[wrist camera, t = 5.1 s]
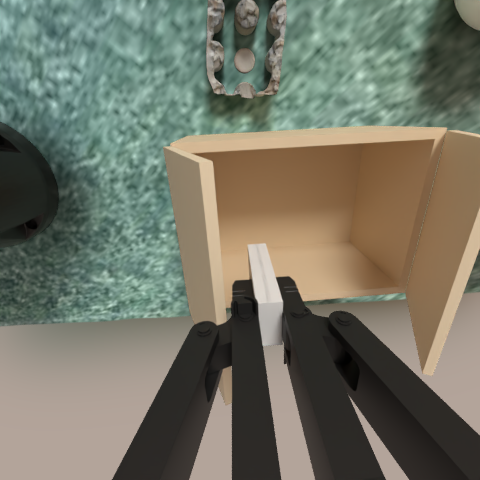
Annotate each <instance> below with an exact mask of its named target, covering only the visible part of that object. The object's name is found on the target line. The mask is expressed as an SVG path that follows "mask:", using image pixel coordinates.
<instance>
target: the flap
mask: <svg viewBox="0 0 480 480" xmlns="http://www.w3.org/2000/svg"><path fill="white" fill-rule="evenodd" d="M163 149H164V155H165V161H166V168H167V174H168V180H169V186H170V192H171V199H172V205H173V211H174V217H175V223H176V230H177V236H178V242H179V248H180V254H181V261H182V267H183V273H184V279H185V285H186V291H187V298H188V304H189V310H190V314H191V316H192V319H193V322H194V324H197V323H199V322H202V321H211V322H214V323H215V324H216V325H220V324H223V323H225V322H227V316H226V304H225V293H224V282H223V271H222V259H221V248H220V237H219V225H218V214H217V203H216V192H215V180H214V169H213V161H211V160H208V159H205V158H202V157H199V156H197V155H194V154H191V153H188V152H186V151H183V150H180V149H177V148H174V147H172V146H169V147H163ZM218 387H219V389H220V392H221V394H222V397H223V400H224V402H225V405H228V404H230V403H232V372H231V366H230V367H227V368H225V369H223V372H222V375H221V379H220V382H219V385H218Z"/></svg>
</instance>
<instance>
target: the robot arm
mask: <svg viewBox="0 0 480 480" xmlns="http://www.w3.org/2000/svg"><path fill="white" fill-rule="evenodd" d="M57 207H58V188H57V184H56V181H55V178H54V175H53V173H52V170H51V169H50V167H49V165H48V163H47V162H46V160H45V159H44V157H43V156H42V154H41V153H40V152H39V151H38V150H37V149H36V147H35V146H34V145H33V144H32V143H31V142H30V141H28V140H27V139H26V138H25V137H24V136H23V135H21V134H20V133H19V132H17V131H16V130H14V129H13V128H11V127H9V126H7V125H6V124H4V123H2V122H0V248H3V247H9V246H14V245H17V244H20V243H23V242H25V241H27V240H29V239H31V238H33V237H34V236H36V235H37V234H39V233H41V232H42V231H43V230H45V229H46V228H47V227H48V226H49V225H50V223H51V222H52V220H53V219H54V217H55V214H56V211H57ZM248 264H249V280H235V282H234V283H233V285H232V302H231V314H232V316H231V318H230V319H229V320H228V321H227V322H225V323H223V324H220V325H216V324H215V323H214V322H211V321H202V322H199V323H197V324H195V325H194V326H193V327H192V328H191V330H190V332H189V334H188V336H187V338H186V340H185V341H184V343H183V345H182V347H181V349H180V351H179V353H178V355H177V357H176V359H175V360H174V362H173V364H172V366H171V368H170V370H169V372H168V374H167V376H166V378H165V380H164V381H163V383H162V385H161V387H160V389H159V391H158V393H157V395H156V397H155V399H154V401H153V403H152V405H151V407H150V408H149V410H148V412H147V414H146V416H145V418H144V420H143V422H142V423H141V425H140V427H139V429H138V431H137V433H136V435H135V437H134V439H133V441H132V443H131V445H130V447H129V448H128V450H127V452H126V454H125V456H124V458H123V460H122V462H121V464H120V466H119V467H118V469H117V471H116V473H115V475H114V477H113V479H112V480H189V478H190V475H191V471H192V469H193V465H194V462H195V459H196V456H197V452H198V449H199V446H200V443H201V440H202V436H203V433H204V430H205V427H206V424H207V420H208V417H209V414H210V410H211V407H212V404H213V401H214V398H215V395H216V391H217V388H218V385H219V382H220V379H221V375H222V372H223V369H225V368H227V367H230V366H232V480H281V475H280V467H279V461H278V453H277V446H276V438H275V431H274V424H273V417H272V410H271V402H270V395H269V388H268V380H267V374H266V366H265V359H264V352H263V346H270V345H282V341H283V342H284V364H286V363H287V366H288V370H289V375H290V379H291V383H292V387H293V391H294V395H295V399H296V403H297V407H298V411H299V415H300V419H301V423H302V427H303V431H304V436H305V439H306V444H307V448H308V451H309V455H310V460H311V464H312V468H313V472H314V476H315V480H386V479H385V477H384V475H383V472H382V471H381V468H380V466H379V463H378V461H377V459H376V457H375V454H374V452H373V450H372V448H371V445H370V443H369V441H368V439H367V436H366V434H365V432H364V430H363V427H362V425H361V423H360V421H359V418H358V416H357V414H356V412H355V409H354V407H353V405H352V402H351V400H350V398H349V396H350V397H351V399H352V400H353V402H354V403H355V404H356V406H357V407H358V408H359V410H360V411H361V413H362V414H363V415H364V417H365V418H366V420H367V421H368V422H369V424H370V425H371V427H372V428H373V429H374V431H375V432H376V434H377V435H378V436H379V438H380V439H381V441H382V442H383V443H384V445H385V446H386V448H387V449H388V450H389V452H390V453H391V455H392V456H393V457H394V459H395V460H396V462H397V463H398V464H399V466H400V467H401V469H402V470H403V471H404V473H405V474H406V476H407V477H408V478H409V480H480V435H478V433H477V432H475V431H474V430H473V429H472V428H471V427H470V426H469V425H468V424H467V423H466V422H465V421H464V420H463V419H462V418H461V417H459V415H457V413H456V412H454V411H453V410H452V409H451V408H450V407H449V406H448V405H447V404H446V403H445V402H444V401H443V400H442V399H441V398H440V397H439V396H438V395H437V394H436V393H435V392H434V391H433V390H431V388H429V387H428V386H427V385H426V384H425V383H424V382H423V381H422V380H421V379H420V378H419V377H418V376H417V375H416V374H415V373H414V372H413V371H412V370H411V369H409V367H408V366H407V365H405V364H404V363H403V362H402V361H401V360H400V359H399V358H398V357H397V356H396V355H395V354H394V353H393V352H392V351H391V350H390V349H389V348H388V347H387V346H386V345H384V344H383V342H381V341H380V340H379V339H378V338H377V337H376V336H375V335H374V334H373V333H372V332H371V331H370V330H369V329H368V328H367V327H366V326H365V325H364V324H362V322H361V321H359V320H358V319H357V318H356V317H355V316H354V315H352V314H351V313H348V312H345V311H335V312H333V313H331V314H330V316H329V318H328V317H321V316H317V315H314V314H312V312H311V311H310V310H309V309H308V308H307V307H305V305H304V303H303V300H302V298H301V295H300V293H299V291H298V288H297V286H296V283H295V281H294V280H293V279H292V278H291V277H290V276H284V277H275V273H274V270H273V267H272V263H271V260H270V256H269V253H268V250H267V246H266V243H263V244H249V245H248ZM348 395H349V396H348Z"/></svg>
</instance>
